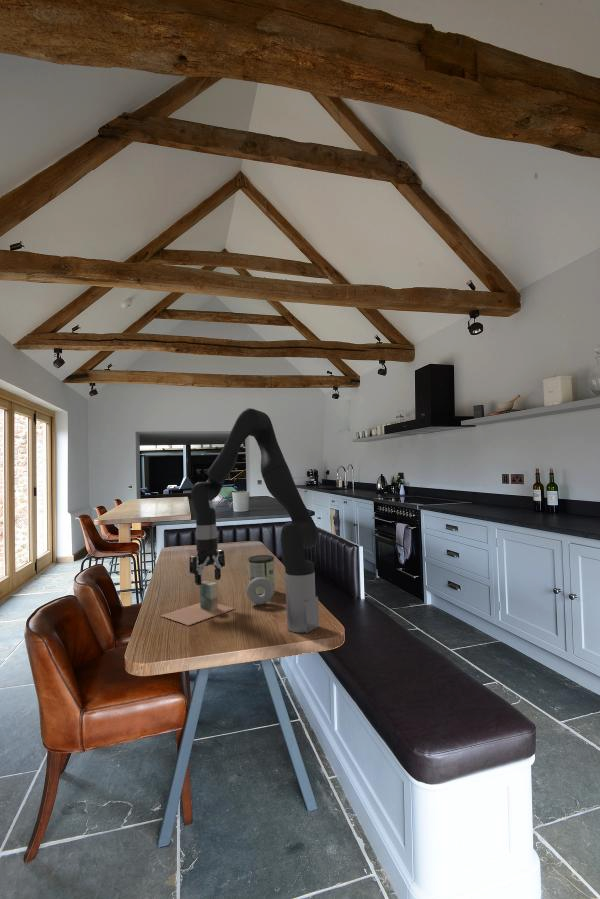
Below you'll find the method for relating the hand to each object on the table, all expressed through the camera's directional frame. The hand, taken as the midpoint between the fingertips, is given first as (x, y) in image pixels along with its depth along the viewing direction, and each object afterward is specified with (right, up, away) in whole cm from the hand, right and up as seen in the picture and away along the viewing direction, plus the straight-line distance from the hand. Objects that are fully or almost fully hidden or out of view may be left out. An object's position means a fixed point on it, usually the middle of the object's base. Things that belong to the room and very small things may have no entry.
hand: (208, 582), depth 159 cm
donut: (+19, -9, +3) cm, 21 cm away
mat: (-3, -10, -4) cm, 11 cm away
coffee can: (+18, -10, +18) cm, 27 cm away
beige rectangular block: (0, -9, 0) cm, 9 cm away
